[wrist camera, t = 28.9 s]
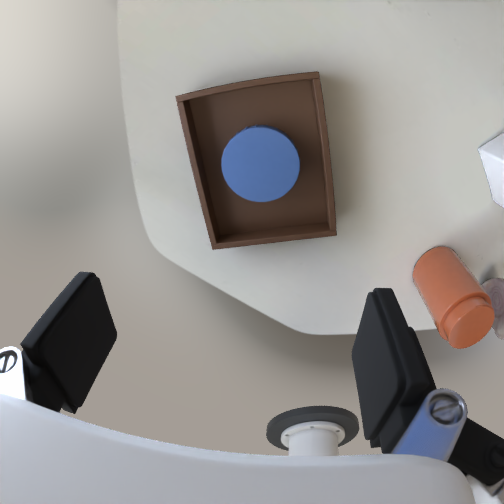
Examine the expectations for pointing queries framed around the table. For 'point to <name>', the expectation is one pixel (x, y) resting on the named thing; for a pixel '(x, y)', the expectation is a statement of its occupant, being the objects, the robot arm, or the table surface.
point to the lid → (260, 163)
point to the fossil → (496, 303)
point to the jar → (453, 297)
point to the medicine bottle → (494, 167)
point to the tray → (271, 114)
